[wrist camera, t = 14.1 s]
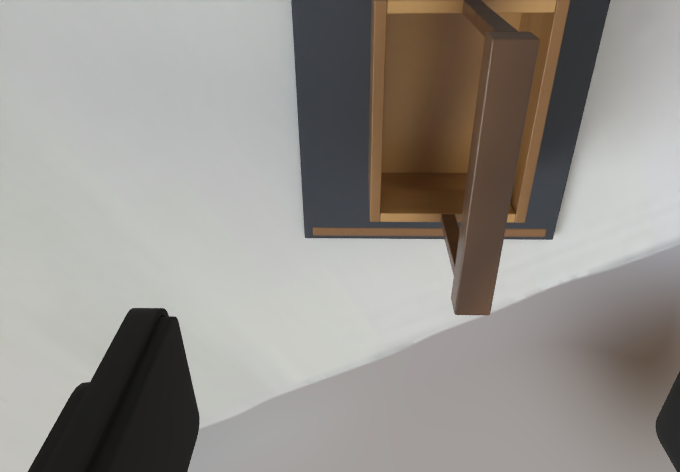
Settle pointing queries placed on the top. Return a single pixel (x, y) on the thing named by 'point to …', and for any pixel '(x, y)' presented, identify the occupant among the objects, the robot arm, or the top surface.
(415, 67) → the basket
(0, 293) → the top surface
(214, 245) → the top surface
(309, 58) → the felt mat
